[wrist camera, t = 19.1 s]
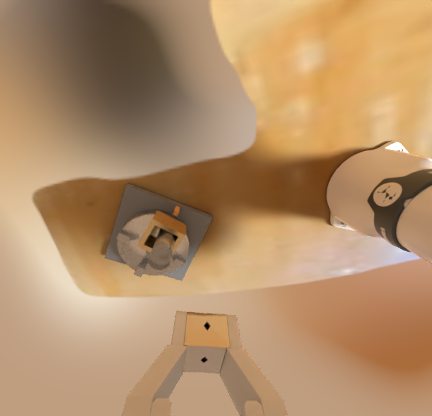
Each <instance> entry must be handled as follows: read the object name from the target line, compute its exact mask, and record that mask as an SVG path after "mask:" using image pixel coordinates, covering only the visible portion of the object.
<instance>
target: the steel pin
mask: <svg viewBox="0 0 432 416" xmlns="http://www.w3.org/2000/svg"><path fill="white" fill-rule="evenodd" d="M175 239H176V235H174V234H172V233H170V232H168V231H166V230H164V229H162V228H160V230H159V233H158V236H157V238H156V241H155V243H154V246H153V248H152V251H151V253H150V256H149V259H148V263H149V265H150V266H151V267H152V268H154V269H156V270H163V269H166V268H167V267H168V266H169V265H170V261H171V257H172V252H173V248H174V244H175Z"/></svg>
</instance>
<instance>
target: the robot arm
mask: <svg viewBox="0 0 432 416" xmlns="http://www.w3.org/2000/svg"><path fill="white" fill-rule="evenodd" d="M327 203H328V206H329V208H330V211H331V216H330V223H331V224H332V225H333V226H335V227H338V228H343V229H348V230H353V231H357V232H358V233H360V234H362V235H363V236H366V237H367V236H371V237H377V238H384V239H386V240H387V241H388V242H389V243H391V244H392V245H394V246H396V247H398V248H400V249H402V250H404V251H408V252H412V253H414V254H416V255H417V256H419V257H420V258H422V259H424V260H425V261H427V262H428V263H430V264H432V159H430V158H428V157H425V156H420V155H415V154H411V153H409V152H408V151H407V150H406V149H405V148H404V147H403V146H402V145H401V144H400V143H399V142H395V141H391V142H388V143H386V144H384V145H382V146H381V147H379V148H377V149H373V150H367V151H363V152H360V153H358V154H355V155H353V156H352V157H350V158H349V159H347V160H346V161H345V162H343V163H342V164H341V165H340V166H339V167H338V169H337V170H336V171H335V173H334V174H333V176H332V177H331V179H330V182H329V184H328V188H327ZM183 372H206V373H220V376H221V378H222V380H223V382H224V384H225V386H226V388H227V390H228V393H229V395H230V397H231V398H232V400H233V403H234V405H235V407H236V409H237V411H238V413H239V415H240V416H288V415H287V411H286V408H285V404H284V401H283V399H282V398H281V397H280V395H279V394H278V393H277V391H276V390H275V389H274V387H273V386H272V385H271V383H270V382H269V380H268V379H267V378H266V376H265V375H264V374H263V372H262V371H261V370H260V368H259V367H258V366H257V364H256V363H255V362H254V360H253V359H252V358H251V356H250V355H249V354H248V352H247V351H246V350H245V349H242V345H241V339H240V333H239V328H238V321H237V317H236V315H225V314H210V313H207V314H205V313H195V312H185V311H177V312H176V316H175V322H174V329H173V335H172V342H171V345H168V346H167V347H166V348H165V349H164V351H163V352H162V353H161V354H160V356H159V357H158V358H157V359H156V361H155V362H154V363H153V364H152V366H151V367H150V368H149V369H148V371H147V372H146V373H145V374H144V376H143V377H142V378H141V379H140V381H139V382H138V383H137V384H136V386H135V387H134V388H133V389H132V391H131V392H130V393H129V394H128V396H127V398H126V402H125V405H124V409H123V412H122V416H170V411H171V402H170V401H169V399H168V398H169V396H170V395H171V393H172V391H173V389H174V388H175V386H176V384H177V383H178V381H179V379H180V377H181V376H182V374H183Z"/></svg>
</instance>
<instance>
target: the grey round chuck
mask: <svg viewBox="0 0 432 416" xmlns="http://www.w3.org/2000/svg"><path fill="white" fill-rule="evenodd" d="M186 227H187V225H185V224H183V222H182V221H181V220H180V219H178V218H177V217H176V216H174V215H172V214H170V213H168V212H165V211H160V210H148V211H143V212H140V213H138V214H136V215H135V216H133V217H132V218H131V219H130V220H129V221H128V222H127V224H126V225H125V226H124V228H123V229H122V230H121V231H120V233H119V234H118V236H117V238H116V239H118V240H117V247H118V252H119V254H120V256H121V258H122V259H123V261H124V262H125V263H126V264H127V265H128V266H129V267H131V268H132V269H134V270H136V271H135V273H134V275H137V276H139V277H141V276H142V274H147V275H165V274H168V273H171V272H173V271H175V270H177V269H178V268H179V267H180V268H182V267H183V266H184V265H185V263H186V258H187V255H188V250H189V233H188V230H187V228H186ZM160 228H162V229H164V230H166V231H168V232H170V233H172V234H174V235H176V239H175V244H174V248H173V252H172V257H171V261H170V265H169V266H168V267H167V268H166V269H163V270H156V269H154V268H152V267H151V266H150V265H149V263H148V259H149V256H150V253H151V251H152V248H153V246H154V243H155V241H156V238H157V236H158V233H159V230H160Z"/></svg>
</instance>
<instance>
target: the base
mask: <svg viewBox="0 0 432 416" xmlns="http://www.w3.org/2000/svg"><path fill="white" fill-rule="evenodd" d="M148 210H160V211H165V212H168V213H170V214H172V215H174V216H176V217H177V218H178V219H180V220H181V221H182V222H183V224H185V225H187V227H186V228H187V230H188V233H189V250H188V255H187V258H186V263H185V265H184V266H183V267H182V268H180V267H179V268H178V269H177V270H175V271H173V272H171V273H168V274H165V275H164V276H167V277H171V278H174V279H178V280H181V281H182V280H183V278H184V276H185V273H186V271H187V269H188V267H189V265H190V263H191V261H192V259H193V257H194V255H195V253H196V251H197V249H198V247H199V245H200V243H201V241H202V239H203V237H204V235H205V233H206V231H207V229H208V227H209V225H210V223H211V221H212V219H213V217H212V215H210V214H208V213H205V212H203V211H200V210H197V209H195V208H192V207H190V206H187V205H184V204H182V203H179V202H177V201H174V200H171V199H169V198H166V197H164V196H161V195H158V194H156V193H153V192H151V191H148V190H145V189H143V188H140V187H138V186H135V185H132V184H130V183H128V184H127V185H126V187H125V190H124V194H123V197H122V200H121V204H120V207H119V210H118V214H117V217H116V221H115V224H114V227H113V231H112V234H111V237H110V241H109V244H108V247H107V251H106V254H105V258H107V259H110V260H113V261H117V262H120V263H124V264H126V263H125V262H124V261H123V259H122V258H121V256H120V254H119V252H118V247H117V240H118V239H116V238H117V236H118V234H119V233H120V231H121V230H122V229H123V228H124V226H125V225H126V224H127V222H128V221H129V220H130V219H131V218H132V217H133V216H135V215H136V214H138V213H140V212H143V211H148Z"/></svg>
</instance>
